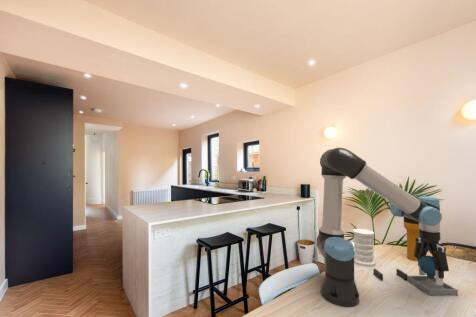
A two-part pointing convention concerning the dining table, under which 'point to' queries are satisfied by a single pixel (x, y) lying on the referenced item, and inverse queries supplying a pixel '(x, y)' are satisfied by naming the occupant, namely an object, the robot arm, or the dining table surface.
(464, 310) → the dining table surface
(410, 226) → the flashlight
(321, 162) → the robot arm
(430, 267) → the light bulb
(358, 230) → the decorative container
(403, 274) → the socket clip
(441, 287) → the parts tray
